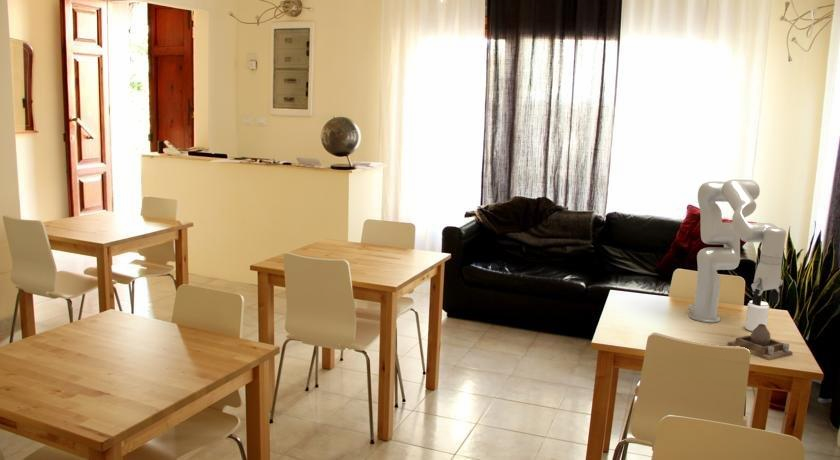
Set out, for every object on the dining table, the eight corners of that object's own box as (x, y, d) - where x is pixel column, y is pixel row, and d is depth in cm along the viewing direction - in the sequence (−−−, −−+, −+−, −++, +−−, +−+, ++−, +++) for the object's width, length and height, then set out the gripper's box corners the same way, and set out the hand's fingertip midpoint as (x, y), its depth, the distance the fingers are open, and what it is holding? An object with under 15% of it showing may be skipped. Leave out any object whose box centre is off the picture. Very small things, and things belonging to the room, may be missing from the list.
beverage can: (757, 334, 299) (760, 306, 297) (740, 328, 306) (743, 300, 304) (770, 332, 303) (773, 304, 301) (753, 326, 310) (756, 299, 308)
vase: (771, 350, 276) (774, 328, 274) (751, 348, 277) (754, 326, 276) (766, 344, 283) (769, 323, 281) (747, 342, 284) (750, 321, 282)
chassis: (727, 344, 284) (728, 334, 283) (750, 340, 291) (751, 330, 290) (768, 360, 269) (770, 349, 268) (792, 354, 276) (793, 344, 275)
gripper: (776, 255, 281) (770, 298, 285) (747, 259, 273) (741, 303, 276) (794, 260, 275) (787, 303, 278) (765, 264, 266) (758, 309, 270)
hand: (764, 303), depth 277 cm, fingers open, 9 cm apart
